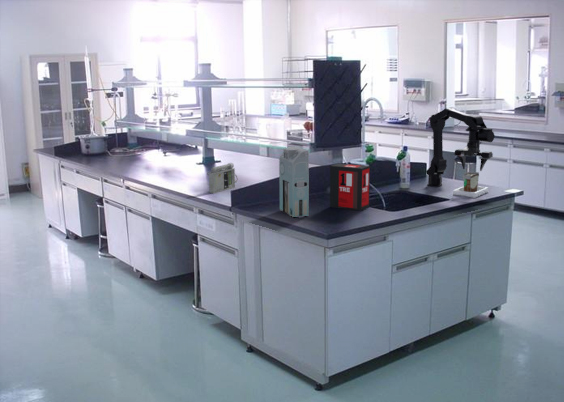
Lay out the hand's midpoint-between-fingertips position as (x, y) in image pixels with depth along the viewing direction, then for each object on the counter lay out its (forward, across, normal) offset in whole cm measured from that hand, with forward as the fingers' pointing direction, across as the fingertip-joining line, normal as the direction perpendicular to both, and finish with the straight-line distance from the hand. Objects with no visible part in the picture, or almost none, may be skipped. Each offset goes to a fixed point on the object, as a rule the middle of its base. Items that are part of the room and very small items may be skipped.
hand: (472, 169), depth 333 cm
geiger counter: (+13, -112, -72) cm, 133 cm away
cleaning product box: (+13, -32, -68) cm, 76 cm away
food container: (+12, 0, -3) cm, 12 cm away
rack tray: (+12, +1, -3) cm, 12 cm away
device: (+13, -45, -94) cm, 106 cm away
